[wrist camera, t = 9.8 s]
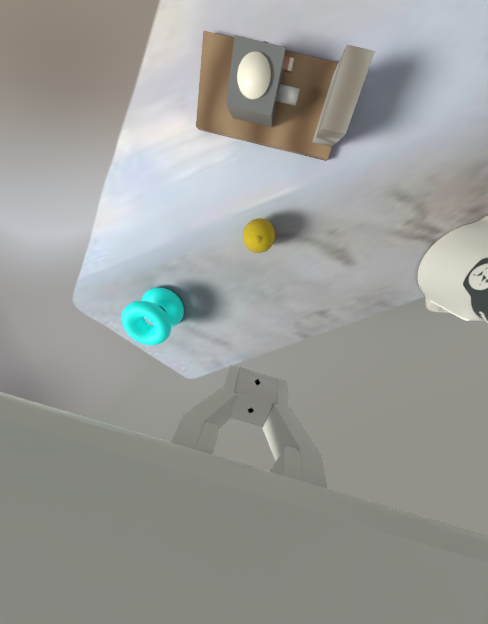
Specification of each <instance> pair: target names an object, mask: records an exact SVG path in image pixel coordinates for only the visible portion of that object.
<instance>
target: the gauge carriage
mask: <svg viewBox="0 0 488 624" xmlns="http://www.w3.org/2000/svg"><path fill="white" fill-rule="evenodd" d="M285 49H286V47H282V46H277V45H273V44H269V43H268V42H264V41H263V42H261V41H257V40H252V39H248V38H244V37H240V36H236V35H235V37H234V45H233V53H232V61H231V68H230V76H229V84H228V92H227V100H226V106H227V108H228V110H229V112H230V114H231V116H232V118H235V119H239V120H243V121H247V122H252V123H256V124H260V125H264V126H268V127H272V124H273V119H274V114H275V110H276V105H277V101H278V102H282V103H286V104H290V105H294V106H296V102H297V98H298V94H299V90H300V89H299V88H295V87H291V86H286V85H282V84H281V82H282V77H283V72H284V62H285Z"/></svg>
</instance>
